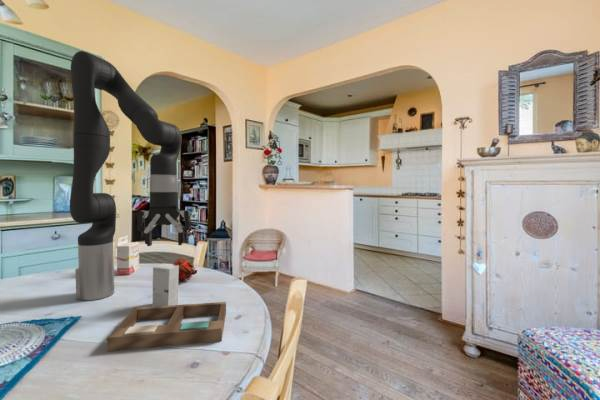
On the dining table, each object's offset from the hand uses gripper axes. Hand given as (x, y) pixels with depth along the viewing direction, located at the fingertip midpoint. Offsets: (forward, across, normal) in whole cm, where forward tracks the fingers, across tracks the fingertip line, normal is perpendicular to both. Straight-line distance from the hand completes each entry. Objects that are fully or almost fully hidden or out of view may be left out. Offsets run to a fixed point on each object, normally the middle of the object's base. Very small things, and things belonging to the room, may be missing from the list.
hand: (165, 245), depth 84 cm
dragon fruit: (+18, 0, +24) cm, 30 cm away
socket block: (+18, +6, -15) cm, 24 cm away
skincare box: (+18, 0, 0) cm, 19 cm away
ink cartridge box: (+18, -24, +37) cm, 48 cm away
